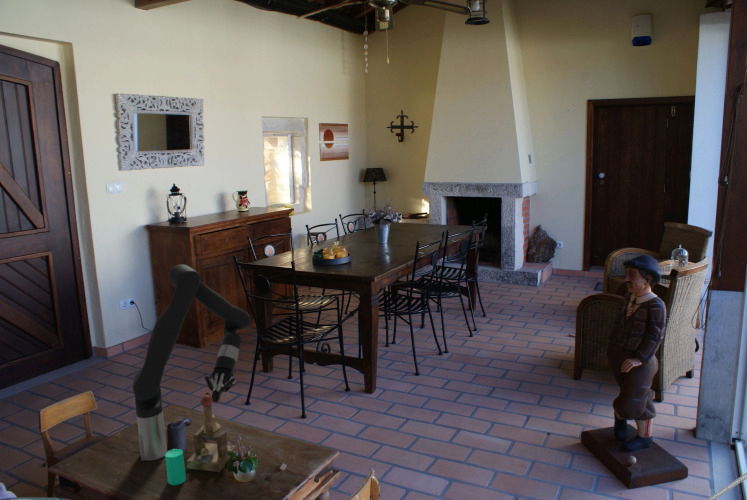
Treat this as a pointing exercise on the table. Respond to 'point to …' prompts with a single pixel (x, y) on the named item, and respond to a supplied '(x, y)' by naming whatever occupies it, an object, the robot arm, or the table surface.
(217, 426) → the hand bell
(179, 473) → the candle
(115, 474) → the table surface
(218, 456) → the nutcracker bench
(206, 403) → the lever
